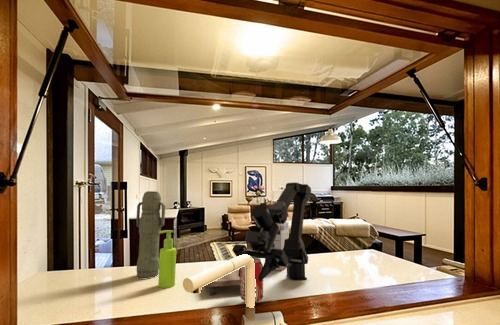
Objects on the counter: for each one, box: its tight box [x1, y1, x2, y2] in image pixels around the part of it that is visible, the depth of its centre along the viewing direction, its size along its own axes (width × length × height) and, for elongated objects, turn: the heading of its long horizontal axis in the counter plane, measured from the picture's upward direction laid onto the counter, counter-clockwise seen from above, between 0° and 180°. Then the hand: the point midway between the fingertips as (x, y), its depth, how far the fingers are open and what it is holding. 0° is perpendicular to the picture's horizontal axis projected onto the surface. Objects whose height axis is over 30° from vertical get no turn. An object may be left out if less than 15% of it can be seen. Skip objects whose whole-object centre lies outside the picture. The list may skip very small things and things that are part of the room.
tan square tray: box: [205, 270, 240, 296], centre depth 98 cm, size 16×14×4 cm
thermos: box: [135, 190, 166, 279], centre depth 116 cm, size 9×12×35 cm
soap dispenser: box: [157, 229, 177, 289], centre depth 101 cm, size 6×7×20 cm
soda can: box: [239, 257, 264, 304], centre depth 84 cm, size 7×7×12 cm
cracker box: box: [271, 221, 290, 272], centre depth 130 cm, size 14×6×21 cm, turn 157°
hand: (249, 278), depth 83 cm, fingers closed on soda can, 7 cm apart
